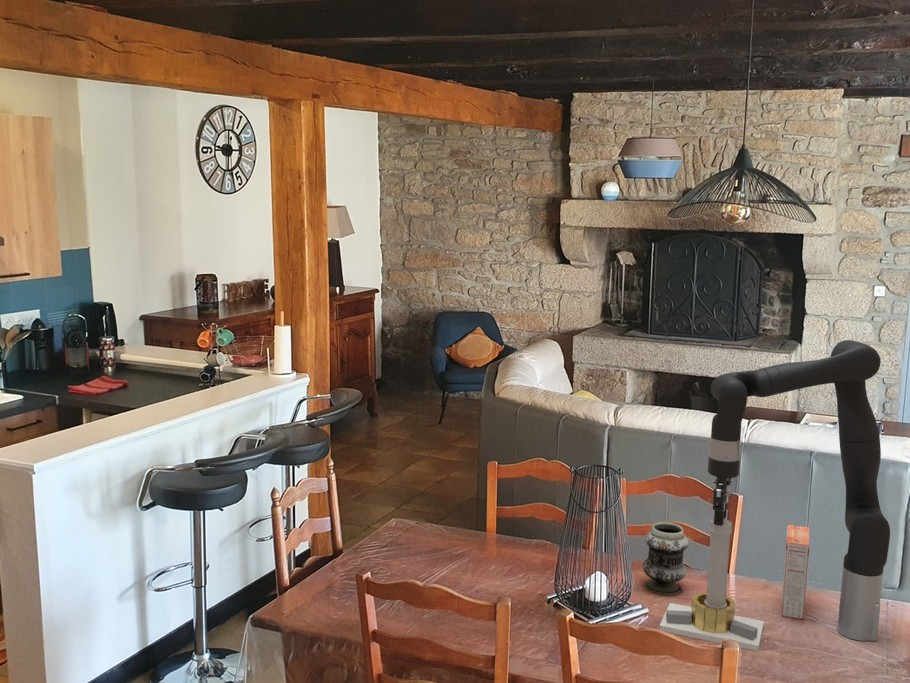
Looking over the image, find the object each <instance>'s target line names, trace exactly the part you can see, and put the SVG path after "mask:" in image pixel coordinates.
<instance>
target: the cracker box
mask: <svg viewBox="0 0 910 683" xmlns="http://www.w3.org/2000/svg"><path fill="white" fill-rule="evenodd" d="M786 529H787V530H786V536H785V537H786V538H785V547H784V561H783V572H782V574H783V575H782V593H781V617H785V618H790V619H797V620H805V608H806V595H807V594H806V593H807V584H808V582H807V581H808V571H809V570H808V569H809V559H810V558H809V555H810V527H807V526H799V525H793V524H788V525H787V528H786Z"/></svg>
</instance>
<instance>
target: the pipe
mask: <svg viewBox="0 0 910 683" xmlns="http://www.w3.org/2000/svg"><path fill="white" fill-rule="evenodd" d="M708 501H710V502H712V503H713V499H712V500H711V499H710V498H708ZM708 528H709V529H708V531H709V532H710V538H709V539H710V540H709V550H708V552H709V554H708V565H707V566H708V568H707V581H706V582H707V585H706V592H707V596H706V600H705V602H704V604H705V606H706V607H710V608H716V609H717V608H726V607H727V603H726V602H725V601H726V596H727V587H728V585H727V584H728V570H729V555H730V541H731V535H732V534H733V529H732V528H733V523H732V521H730V520H728V519H726V518H725V519H724V520H723V525H722V526H719V525H715V524H714V518H712V519H711V520H710V521H709V527H708Z"/></svg>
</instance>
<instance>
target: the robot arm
mask: <svg viewBox="0 0 910 683" xmlns="http://www.w3.org/2000/svg"><path fill="white" fill-rule="evenodd" d="M880 367H881V356H880V354H879V353H878V351H877V350H876V349H875V348H874V347H872V346H870V345H868V344H866V343H863V342H861V341H860V342H859V341H855V340H852V339H844V340H841V341H840V342H838V343H836V345H835V346H834V347H833V348H832V351H831V353H830V356H829V357H828V356H827V357H825V358H820V359H813V360H806V361H795V362H794V361H793V362H784V363H779V364H774V365H769V366H766V367H761V368H758V369H754V370H744V371H734V372H727V373H723V374H721V375H719V376H716V378H715V379H713V381H711V382H712V383H711V385H710V392H711V395H712V397H713V398H714V399H715V400H716V401H717V402H718V403H717V411H716V414H715V415H714V416H713V417H712V420H711V430H710V432H711V434H710V440H709V448H708V462H707V472H708V474H709V475H710V476H713V477H716V478H715V479H714V481H713V485H712V488H713V489H712V491H713V494H712V495H713V496H712V501H713V502H712V510H713V511H714V513H713V514H714V516H713V519H714V524H715V525H719V526H722V525H723V520H724V519H726V518H727V510H728V503H729V502H730V501H729V499H730V496H731V488H732V484H733V482H732V480H731V479H734V478H737V477H739V475H740V467H741V454H742V452H741V451H742V445H741V438H742V437H741V434H742V422H743V419H744V416H745V412H746V408H747V402H748V397H757V398H767V397H771V396H776V395H779V394H785V393H788V392H792V391H797V390H801V389H805V388H811V387H815V386H816V387H817V386H822V385H827V384H828V385H829V384H834V388H835V395H836V402H837V403H836V406H837V421H838V437H839V440H838V441H839V448H840V449H839V451H840V458H841V466H842V473H843V477H844V483H845V513H844V521H845V522H844V523H845V527H846V529H847V531H848V533H849V538H848V548H847V552H846V553H845V555H844V557H843V565H842V566H843V567H842V576H841V588H840V596H839V606H838V608H839V609H838V617H837V627H836V629H837V632H839V633H840V635H842V636H843V637H845V638H848V639H851V640H855V641H858V642H859V641H861V642H871V641H873V642H877V641H878V640H877V639H878V633H879V632H878V631H879V623H880V622H879V620H880V615H881V614H880V611H881V598H882V596H881V595H882V586H883V584H882V583H883V579H884V578H883V576H884V568H885V566H886V564H887V562H888V556H889V548H890V540H891V527H890V524H889V521H888V520H887V518H886V517H885V516H884V515H883V513H882V512H883V511H882V510H881V505H880V499H879V494H878V485H877V483H878V482H877V481H878V477H879V476H878V475H879V472H880V466H881V456H882V453H881V452H882V450H881V449H882V448H881V438H880V430H879V425H878V423H877V419H876V417H875V414H874V411H873V409H872V407H871V404H870V401H869V398H868V394H867V389H866V388H867V387H866V381H867V380H869V379H871V378H873V377H874V376H876V375H877V373H878V372H879V370H880Z"/></svg>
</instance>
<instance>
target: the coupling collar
mask: <svg viewBox="0 0 910 683" xmlns="http://www.w3.org/2000/svg"><path fill="white" fill-rule="evenodd" d="M706 596H707V591H706V592H704V591H703V592H698V593H696V594H693V597H692V599H691V607H692V609H691V615H692V622H691V623H692V624H693V625H694V626H695V627H697V628H699V629H701V630H703V631H706V632H711V633H726V632H729V631H730V625H731V623H732V622H733V621H734V618H735V616H736V601H735V600H734V599H733V598H732V597H729V596H728V595H726V601H725V602H726V603H727V607H726V608H717V609H716V608H710V607H706V606H705V604H704V602H705V600H706Z"/></svg>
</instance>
